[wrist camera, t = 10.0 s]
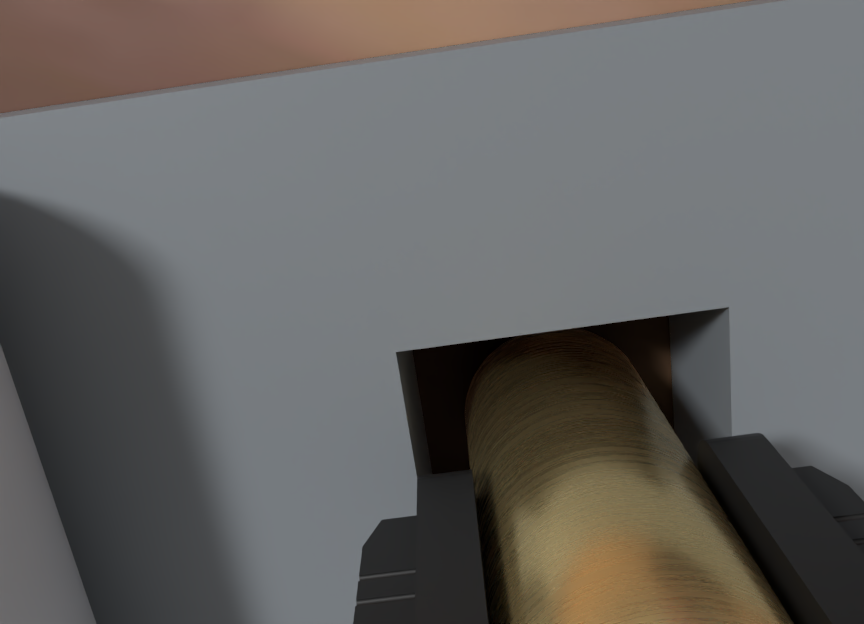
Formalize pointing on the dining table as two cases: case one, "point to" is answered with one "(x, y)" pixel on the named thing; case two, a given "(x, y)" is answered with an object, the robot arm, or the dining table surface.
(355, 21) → the dining table surface
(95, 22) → the dining table surface
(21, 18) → the dining table surface
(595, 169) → the hinge plate
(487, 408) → the brass pin
